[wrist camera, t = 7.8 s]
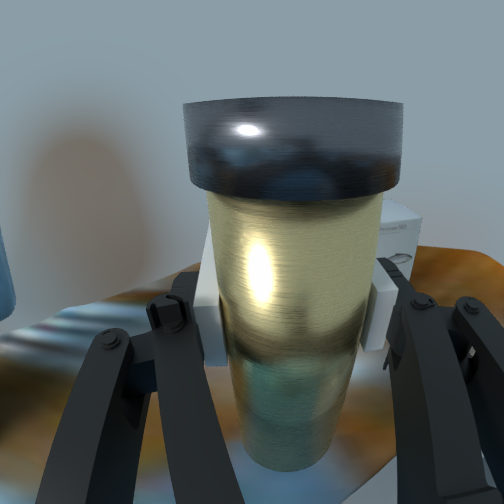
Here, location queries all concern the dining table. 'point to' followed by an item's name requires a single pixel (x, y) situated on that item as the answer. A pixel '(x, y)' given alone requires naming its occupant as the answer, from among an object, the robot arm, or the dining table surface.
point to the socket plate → (390, 486)
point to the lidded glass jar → (293, 253)
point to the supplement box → (398, 235)
